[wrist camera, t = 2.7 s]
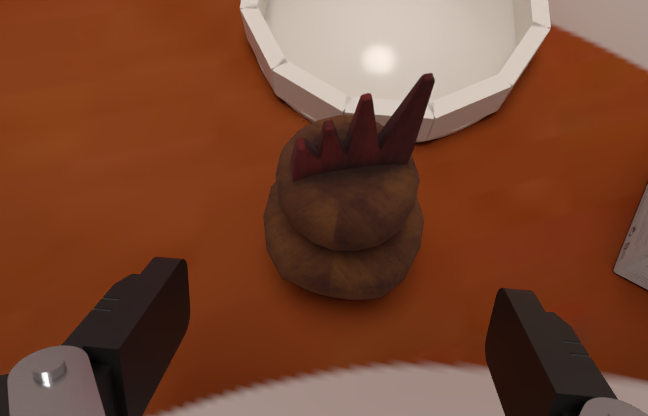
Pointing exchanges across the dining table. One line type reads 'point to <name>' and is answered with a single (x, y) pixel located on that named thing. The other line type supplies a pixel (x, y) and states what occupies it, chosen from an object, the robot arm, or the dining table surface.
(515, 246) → the dining table surface
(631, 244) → the supplement box
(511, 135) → the dining table surface
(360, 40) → the ceramic dish
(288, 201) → the wooden figurine
